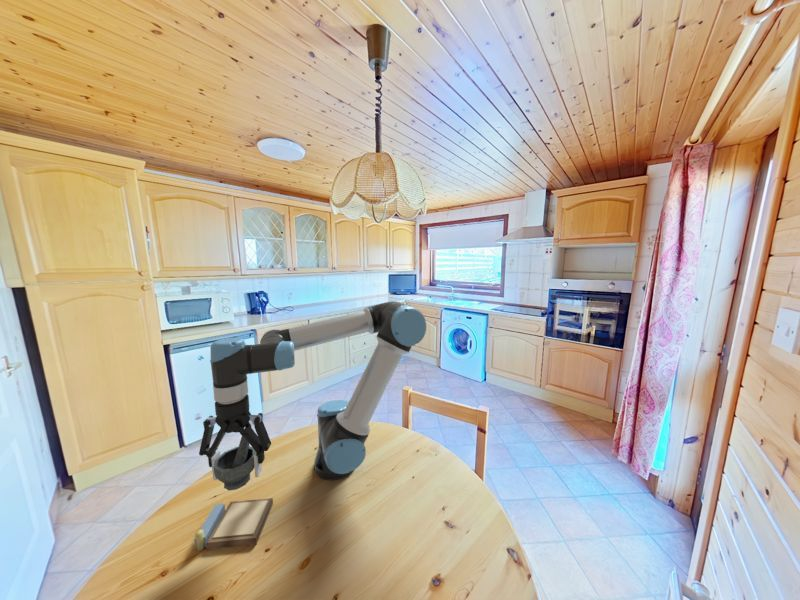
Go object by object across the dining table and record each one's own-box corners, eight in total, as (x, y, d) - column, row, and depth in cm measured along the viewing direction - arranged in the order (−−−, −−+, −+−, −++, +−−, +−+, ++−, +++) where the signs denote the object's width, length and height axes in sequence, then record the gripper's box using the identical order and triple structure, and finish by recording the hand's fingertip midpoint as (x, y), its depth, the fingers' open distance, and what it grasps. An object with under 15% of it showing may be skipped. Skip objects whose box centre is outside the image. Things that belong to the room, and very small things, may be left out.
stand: (273, 504, 82) (272, 497, 81) (256, 544, 70) (255, 536, 70) (231, 507, 81) (230, 500, 80) (207, 549, 69) (206, 541, 68)
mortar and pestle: (240, 498, 67) (236, 454, 66) (206, 494, 69) (202, 451, 67) (268, 465, 78) (265, 427, 77) (239, 462, 80) (235, 424, 78)
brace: (204, 550, 68) (203, 534, 68) (193, 551, 68) (192, 536, 67) (225, 511, 79) (223, 498, 78) (215, 513, 79) (214, 499, 78)
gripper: (281, 388, 75) (285, 461, 78) (195, 392, 73) (202, 467, 76) (271, 402, 68) (276, 482, 71) (175, 407, 65) (184, 489, 68)
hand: (238, 474), depth 73 cm, fingers closed on mortar and pestle, 10 cm apart
